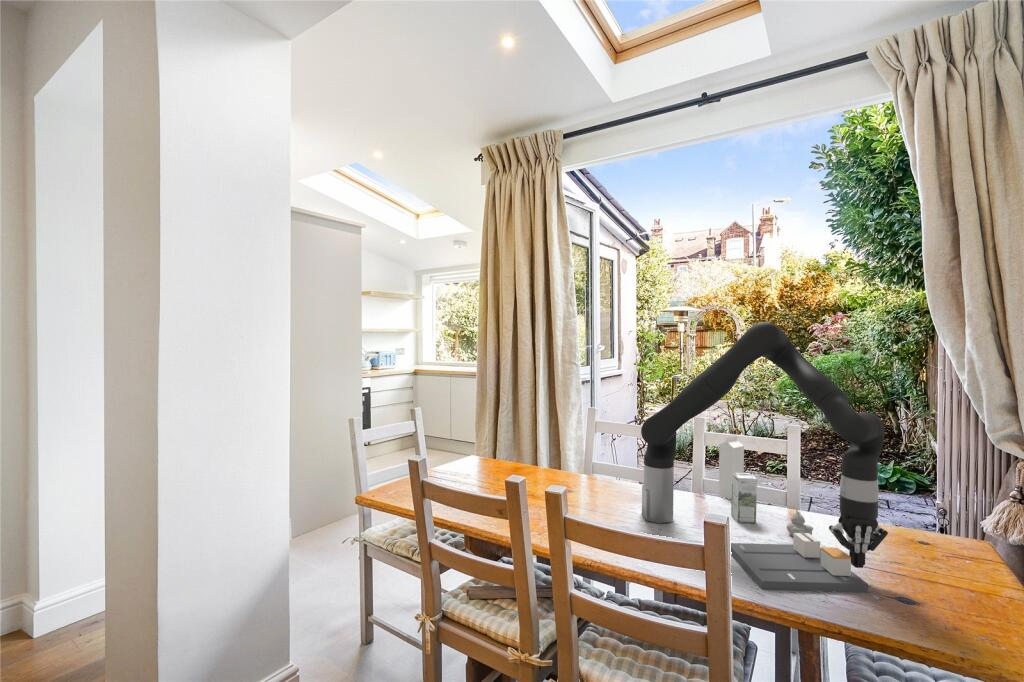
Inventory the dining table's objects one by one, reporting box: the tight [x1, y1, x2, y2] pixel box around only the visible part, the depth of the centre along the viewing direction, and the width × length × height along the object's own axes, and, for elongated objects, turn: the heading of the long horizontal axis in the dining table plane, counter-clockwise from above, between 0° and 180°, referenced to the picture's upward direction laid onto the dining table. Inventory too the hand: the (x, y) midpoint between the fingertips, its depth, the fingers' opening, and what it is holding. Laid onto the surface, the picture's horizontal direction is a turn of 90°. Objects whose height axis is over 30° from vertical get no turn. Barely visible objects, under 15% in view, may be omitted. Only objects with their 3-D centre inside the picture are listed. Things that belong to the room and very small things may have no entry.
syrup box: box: [730, 472, 758, 524], centre depth 152 cm, size 6×6×14 cm
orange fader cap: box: [820, 546, 852, 576], centre depth 115 cm, size 4×5×4 cm
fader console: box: [730, 542, 869, 593], centre depth 120 cm, size 24×20×2 cm
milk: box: [718, 435, 745, 501], centre depth 173 cm, size 6×6×22 cm
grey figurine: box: [786, 509, 814, 537], centre depth 139 cm, size 5×7×8 cm
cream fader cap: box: [792, 532, 821, 558], centre depth 124 cm, size 4×5×4 cm
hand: (857, 566), depth 115 cm, fingers closed
